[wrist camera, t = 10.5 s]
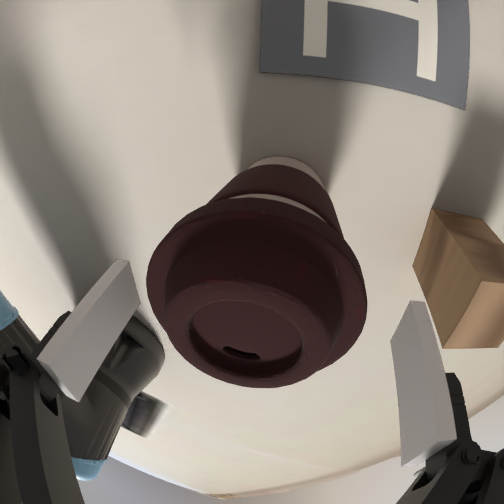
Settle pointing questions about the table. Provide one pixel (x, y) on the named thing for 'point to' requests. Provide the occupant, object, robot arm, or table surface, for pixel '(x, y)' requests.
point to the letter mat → (372, 43)
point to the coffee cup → (260, 280)
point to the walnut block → (462, 280)
